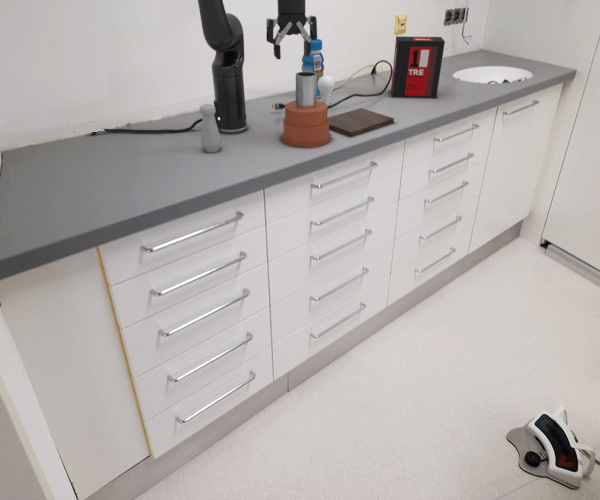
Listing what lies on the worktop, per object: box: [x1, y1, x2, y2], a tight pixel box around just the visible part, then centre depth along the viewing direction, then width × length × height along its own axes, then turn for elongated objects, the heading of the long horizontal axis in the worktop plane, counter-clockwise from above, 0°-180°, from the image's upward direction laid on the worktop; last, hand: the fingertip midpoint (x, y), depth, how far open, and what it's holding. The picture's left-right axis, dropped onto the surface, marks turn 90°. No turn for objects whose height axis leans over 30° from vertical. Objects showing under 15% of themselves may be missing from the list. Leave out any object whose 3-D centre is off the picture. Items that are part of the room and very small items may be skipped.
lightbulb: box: [317, 74, 336, 107], centre depth 168 cm, size 6×6×11 cm
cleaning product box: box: [390, 36, 446, 99], centre depth 179 cm, size 16×9×20 cm, turn 84°
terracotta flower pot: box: [281, 100, 332, 148], centre depth 142 cm, size 15×15×10 cm
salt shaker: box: [199, 103, 222, 154], centre depth 134 cm, size 6×6×13 cm
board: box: [327, 107, 395, 137], centre depth 156 cm, size 20×15×2 cm
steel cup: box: [295, 71, 318, 109], centre depth 137 cm, size 6×6×9 cm
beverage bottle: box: [301, 38, 325, 99], centre depth 178 cm, size 8×8×20 cm
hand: (292, 57), depth 135 cm, fingers open, 8 cm apart
